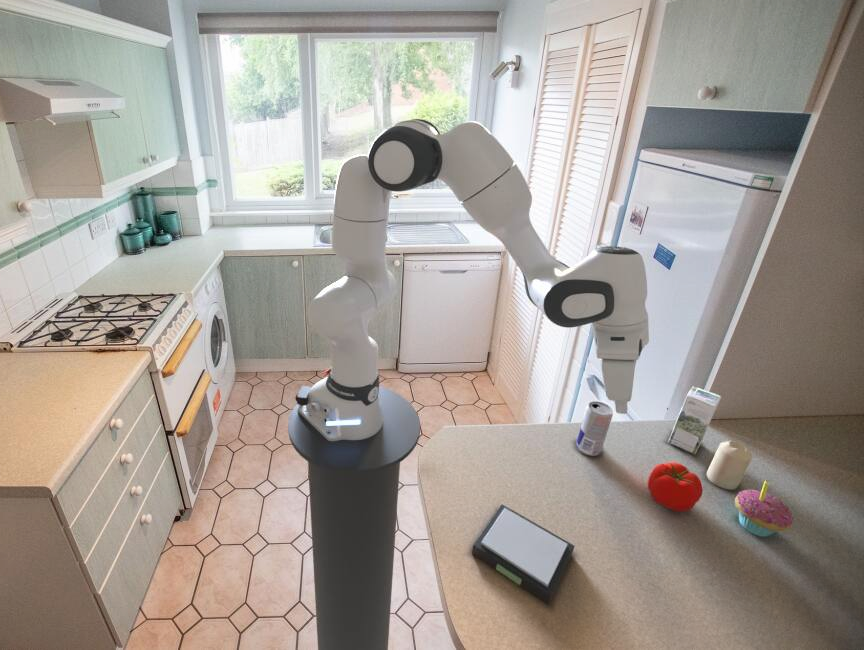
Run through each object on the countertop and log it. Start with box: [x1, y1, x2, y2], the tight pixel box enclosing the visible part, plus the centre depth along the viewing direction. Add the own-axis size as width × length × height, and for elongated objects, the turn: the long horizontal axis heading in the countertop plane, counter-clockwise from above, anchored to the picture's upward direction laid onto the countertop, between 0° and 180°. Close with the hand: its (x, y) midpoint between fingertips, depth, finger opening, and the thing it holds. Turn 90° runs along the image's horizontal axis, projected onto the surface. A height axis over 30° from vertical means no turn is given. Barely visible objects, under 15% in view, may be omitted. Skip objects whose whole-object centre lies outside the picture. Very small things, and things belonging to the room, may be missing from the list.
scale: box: [471, 503, 575, 605], centre depth 82 cm, size 14×12×3 cm
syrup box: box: [667, 385, 722, 455], centre depth 106 cm, size 6×6×14 cm
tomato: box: [647, 462, 703, 512], centre depth 93 cm, size 9×9×8 cm
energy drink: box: [575, 400, 614, 457], centre depth 105 cm, size 5×5×12 cm
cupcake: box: [734, 478, 795, 537], centre depth 86 cm, size 9×8×12 cm
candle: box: [706, 439, 754, 491], centre depth 97 cm, size 6×6×10 cm
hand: (623, 399), depth 87 cm, fingers open, 8 cm apart
